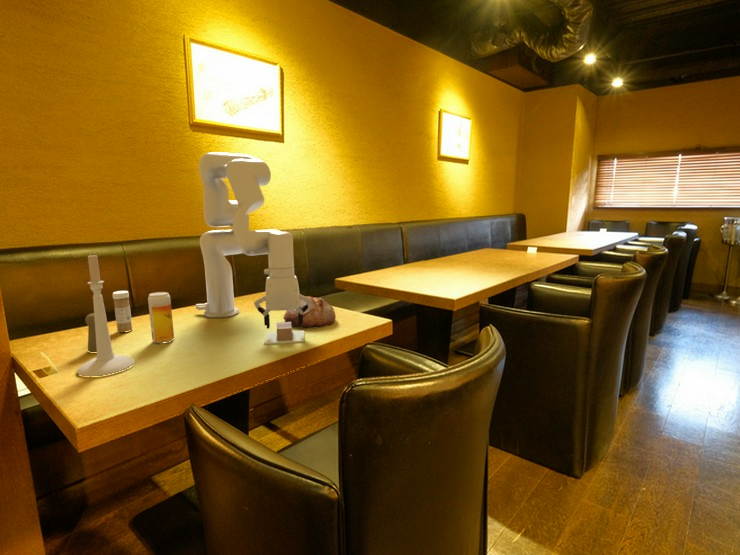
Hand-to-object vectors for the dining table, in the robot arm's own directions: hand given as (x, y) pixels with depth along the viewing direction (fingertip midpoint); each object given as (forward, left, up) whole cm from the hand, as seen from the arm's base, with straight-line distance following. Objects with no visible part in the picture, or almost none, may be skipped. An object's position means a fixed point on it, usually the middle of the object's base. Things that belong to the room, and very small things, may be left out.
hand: (284, 326), depth 133 cm
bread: (+8, +17, -4) cm, 19 cm away
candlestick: (-45, -16, -4) cm, 48 cm away
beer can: (-37, +4, -4) cm, 37 cm away
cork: (-53, -1, -4) cm, 53 cm away
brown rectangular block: (0, 0, -3) cm, 3 cm away
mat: (0, 0, -4) cm, 4 cm away
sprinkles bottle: (-53, +17, -4) cm, 56 cm away
